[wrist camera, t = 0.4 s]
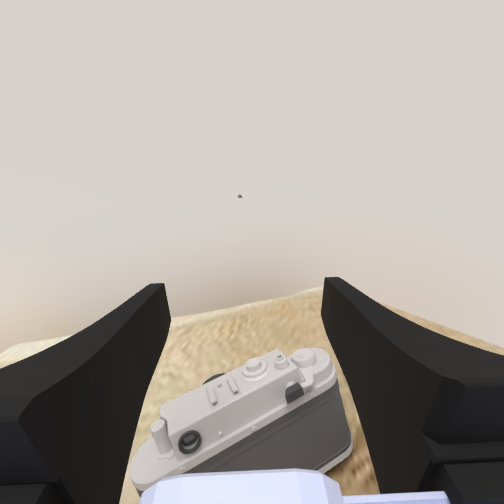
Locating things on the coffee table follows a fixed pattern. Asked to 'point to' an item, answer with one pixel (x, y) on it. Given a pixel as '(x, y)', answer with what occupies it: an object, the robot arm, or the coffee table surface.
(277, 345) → the coffee table surface
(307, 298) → the coffee table surface
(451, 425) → the robot arm
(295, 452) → the camera
